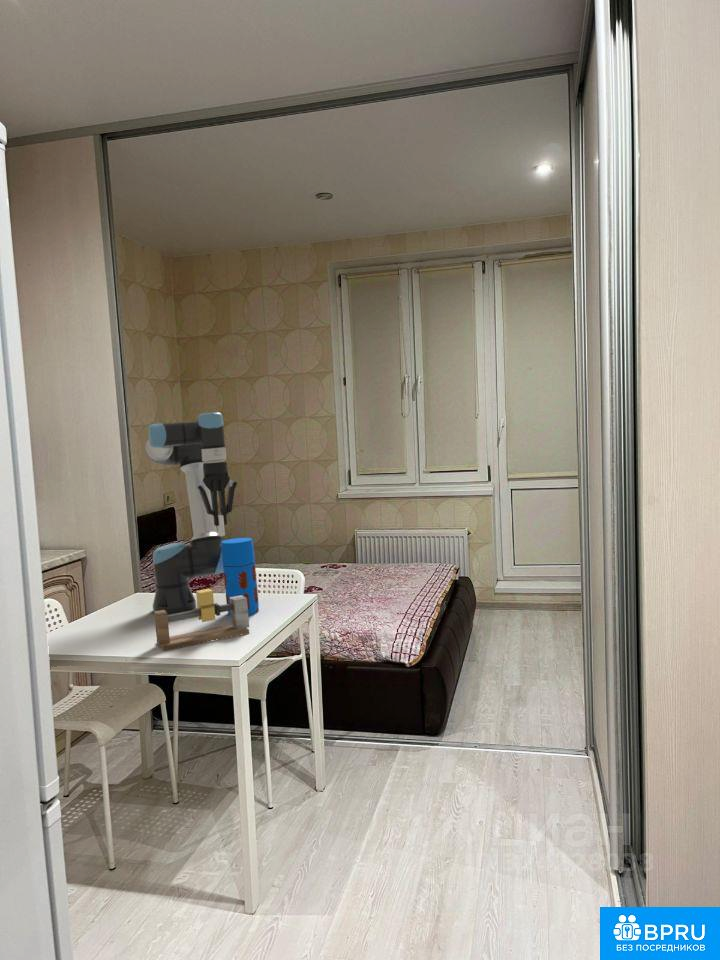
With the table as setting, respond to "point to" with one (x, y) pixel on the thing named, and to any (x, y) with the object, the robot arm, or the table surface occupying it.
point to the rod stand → (236, 628)
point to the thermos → (240, 571)
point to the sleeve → (206, 604)
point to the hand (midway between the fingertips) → (221, 535)
